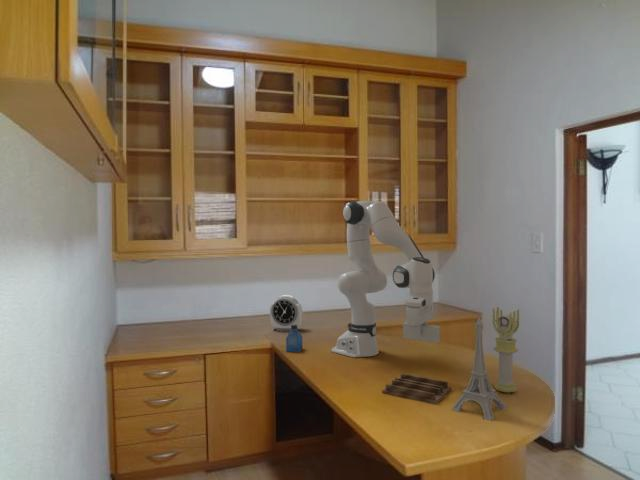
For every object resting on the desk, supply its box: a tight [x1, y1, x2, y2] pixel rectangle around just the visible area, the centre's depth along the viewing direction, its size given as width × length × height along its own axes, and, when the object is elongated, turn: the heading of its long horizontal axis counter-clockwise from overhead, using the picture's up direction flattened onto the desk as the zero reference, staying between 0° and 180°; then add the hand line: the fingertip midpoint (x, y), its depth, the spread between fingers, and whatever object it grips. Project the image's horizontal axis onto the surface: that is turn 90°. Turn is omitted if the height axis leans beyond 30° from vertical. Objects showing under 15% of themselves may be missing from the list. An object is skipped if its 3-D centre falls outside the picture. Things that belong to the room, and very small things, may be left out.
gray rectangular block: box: [402, 321, 441, 344], centre depth 180 cm, size 14×3×6 cm, turn 57°
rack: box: [381, 373, 452, 405], centre depth 166 cm, size 20×16×3 cm
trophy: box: [492, 306, 520, 394], centre depth 165 cm, size 8×8×30 cm
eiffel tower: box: [450, 317, 508, 422], centre depth 150 cm, size 13×13×30 cm
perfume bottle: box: [285, 325, 303, 353], centre depth 223 cm, size 6×6×12 cm
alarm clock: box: [269, 294, 303, 332], centre depth 265 cm, size 18×8×20 cm, turn 76°
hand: (421, 333), depth 180 cm, fingers closed on gray rectangular block, 3 cm apart
